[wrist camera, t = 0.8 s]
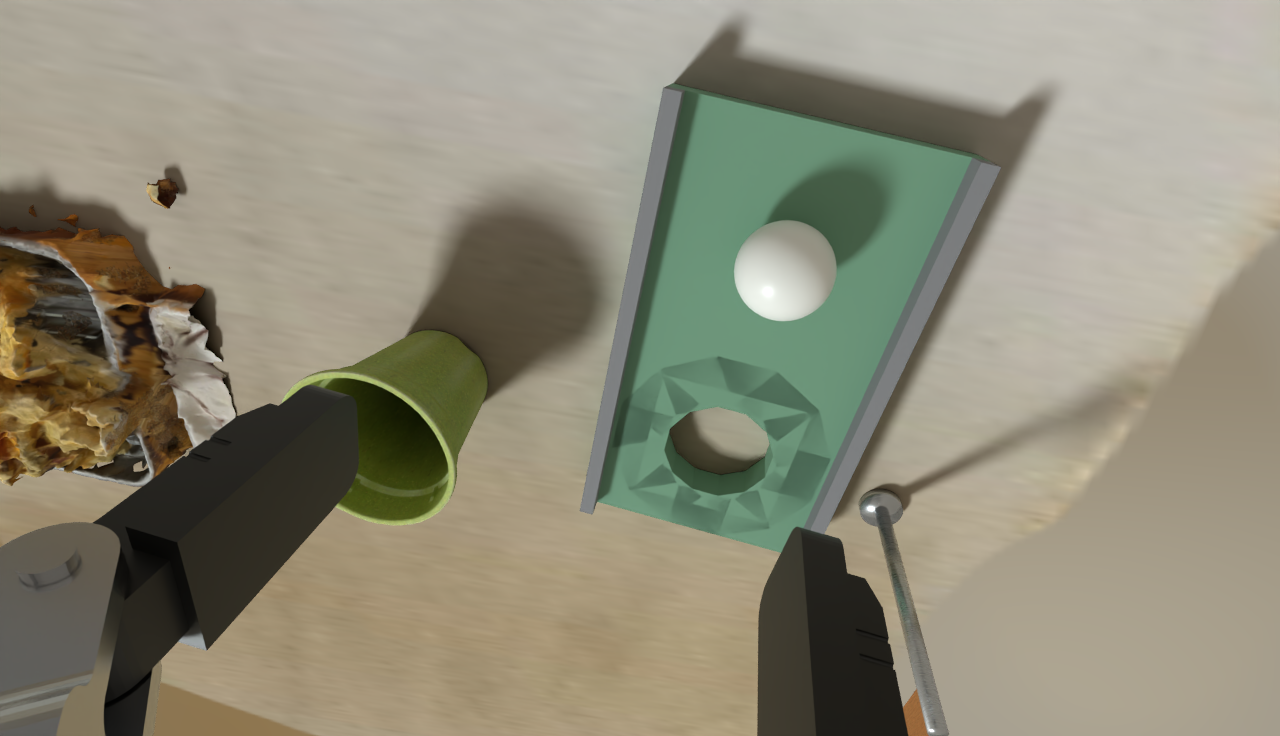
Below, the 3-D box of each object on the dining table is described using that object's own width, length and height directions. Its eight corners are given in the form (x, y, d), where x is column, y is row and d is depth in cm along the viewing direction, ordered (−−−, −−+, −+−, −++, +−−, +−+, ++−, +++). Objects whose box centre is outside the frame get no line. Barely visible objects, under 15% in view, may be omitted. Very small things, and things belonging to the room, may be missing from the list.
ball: (750, 199, 28) (748, 224, 24) (845, 222, 27) (858, 251, 24) (725, 287, 30) (720, 322, 26) (812, 309, 30) (820, 348, 26)
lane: (673, 83, 28) (663, 87, 25) (976, 154, 27) (1001, 167, 24) (592, 478, 40) (579, 510, 37) (801, 535, 39) (804, 573, 36)
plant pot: (504, 305, 35) (433, 377, 27) (524, 440, 39) (467, 534, 32) (357, 300, 36) (252, 366, 29) (392, 430, 41) (308, 517, 33)
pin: (867, 484, 36) (921, 708, 24) (907, 495, 36) (981, 725, 24) (841, 536, 38) (878, 765, 26) (878, 547, 38) (933, 782, 26)
